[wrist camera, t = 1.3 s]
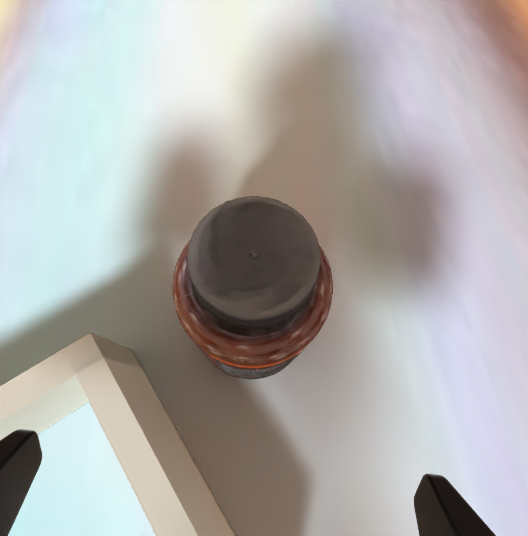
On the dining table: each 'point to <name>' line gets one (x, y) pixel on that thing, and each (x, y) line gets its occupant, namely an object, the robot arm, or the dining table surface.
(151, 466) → the frame
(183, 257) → the supplement bottle
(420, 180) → the dining table surface
